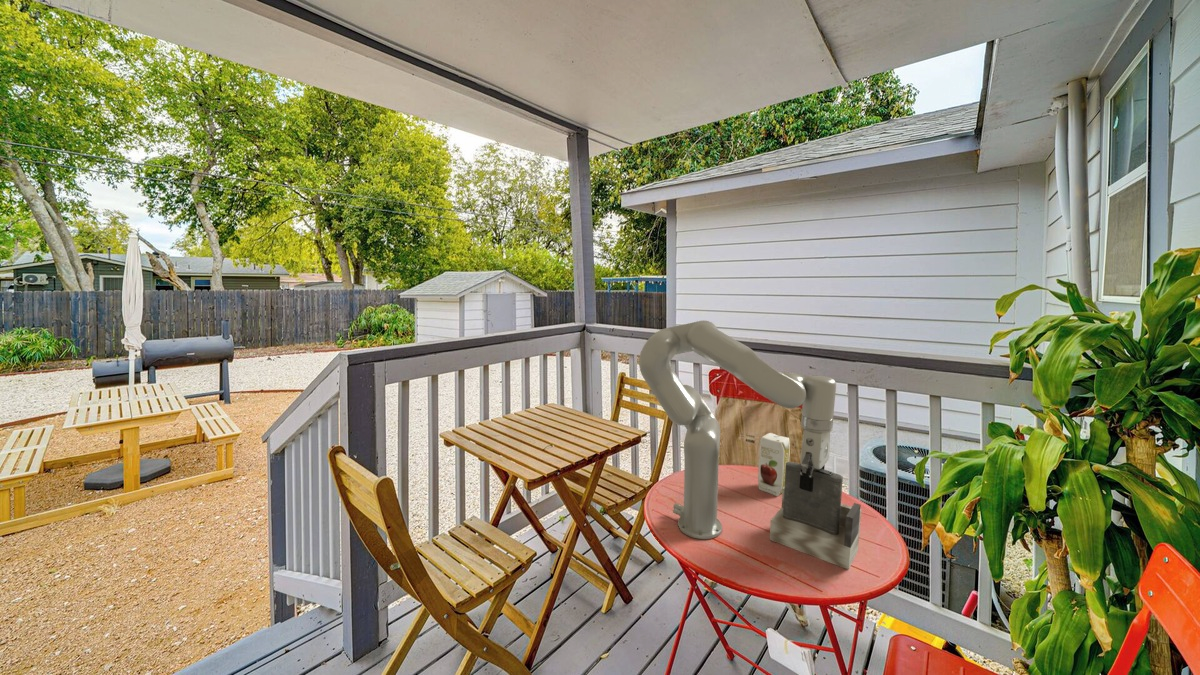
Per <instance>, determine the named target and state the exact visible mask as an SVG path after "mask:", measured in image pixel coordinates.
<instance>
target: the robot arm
mask: <svg viewBox="0 0 1200 675" xmlns="http://www.w3.org/2000/svg"><path fill="white" fill-rule="evenodd" d="M689 352H694V354H695V353H696V354H697V355H699V356H701V357H702V358H703V359H705V360H708V361H709V362H711V363H712V364H715V365H716V366H718V367H720V368H721V369H723V370H725V371H727V372H728V373H730V374H731V375H733V376H734V377H735V378H737V379H738V380H739V381H740V382H742V383H744V384H745V385H747V386H748V387H749V388H751V389H752V390H753V391H754V392H756V393H758V394H759V395H761V396H763V397H764V398H765V399H767V400H769V401H771V402H772V403H775V404H776V405H778V406H780V407H783V408H786V409H796V408H799V407H800V406H802V407H801V421H800V422H801V424H800V427H801V429H803V433H802V441H801V448H800V449H801V452H800V464H801V468H802V469H801V473H800V486H799V488H800V489H803V490H806V491H809V492H812V491H813V482H814V477H813V473H814V469H815V468H816V469H817V470H819V469H821V468H822V469H825V465H826V464H827V463H828V461H829V460H830V447H831V432H832V431H833V425H834V424H833V423H834V416H835V402H836V391H837V390H836V389H837V382H836V381H835V379H834V378H832V377H829V376H826V375H825V376H824V375H806V374H802V373H796V372H793V371H791V372H790V371H783V372H780V371H779V370H777V369H775V368H774V367H772V366H771V365H769V364H768V363H767V362H765V361H764V360H763V359H762V358H760V355H758V354H757V353H756V352H755V351H754V350H753V349H752V348H750V347H749V346H747V345H746V344H744V343H742V342H740V341H738V340H736V339H735V338H733V337H731V336H730V335H727V334H726V333H724V332H723V331H720V330H719V329H718V327H717V325H715V324H714V323H713V322H712V321H709V320H697V321H694V322H693V321H692V322H689V323H683V324H680V325H675V326H670V327H665V328H662V329H659V330H658V331H656V332H655V333H653V335H651V336H650V337H649V338H648V339H647V341H646V342H645V343H644V345H643V347H642V349H641V351H640V354H639V359H638V367H639V372H640V374H641V376H642V377H643V379H644V381H645V383H646V384H647V385H648V388H649V389H650V390H651V392H652V394H653V395H654V397H655V398H656V400H657V401H658V403H659V404H660V406H661V408H662V409H663V411H664V412H665V414H666V415H667V418H668V419H669V420H670V421H671V422H672V423H674V424H675V425H678V426H684V427H685V429H686V433H685V436H684V441H683V442H684V443H683V456H684V460H683V462H684V470H683V472H684V477H683V478H684V480H683V481H684V482H683V484H684V485H683V488H684V489H683V505H682V504H680V503H677V502H675V503H674V504H673V507H672V508H673V509H672V513H673V514H675V515H678V516H679V517H678V520H677V525H678V526H679V527H678V529H679V528H680V529H679V530H680V532H682V533H683V534H684V535H686V536H687V537H691V538H694V539H698V540H709V539H710V540H711V539H714V538H716V537H718V536H719V535H721V533H722V532H723V524H722V522H721V521H720V520H719V519H718V498H719V497H718V496H719V495H718V494H719V493H718V491H719V489H718V488H719V463H720V461H719V458H720V457H719V455H720V442H721V426H720V423H719V421H718V419H717V418H716V416H715V415H714V413H713V411H712V410H711V409H710V407H709V406H708V403H706V401H705V400H704V398H703V397H702V395H701V393H700V392H699V391H698V390H697V389H695V388H694V387H693V386H692V385H688V384H684V383H683V382H682V381H681V380H680V377H679V376H678V375H677V373H676V372H675V371H674V370H673V369H672V366H671V365H670V362H671V360H672V359H673V358H674V357H675V355H680V354H685V353H689ZM809 463H810V464H813V465H809ZM808 468H811V471H809V469H808Z"/></svg>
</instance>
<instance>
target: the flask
mask: <svg viewBox="0 0 1200 675" xmlns="http://www.w3.org/2000/svg"><path fill="white" fill-rule="evenodd" d="M809 465H813V464H810V463H809ZM801 469H802V468H801V463H799V462H793V461H789V462H787V463H786V469H785V487H784V505H783V517H784V518H785V519H788V520H792V521H796V522H800V523H803V524H806V525H809V526H812V527H815V528H817V529H820V530H822V531H825V532H827V533H829V534H832V535H838V534H839V521H840V508H841V504H842V494H843V493H842V492H843V481H844V480H843V479H844V477H843V476H842V475H841V474H838V473H835V472H833V471H830V470H827V469H825V468H824V469H822V468H821V469H819V470H817V469H816V468H815V469H814V473H813V477H814V482H813V491H812V492H809V491H806V490H803V489H800V488H799V486H800V473H801ZM808 469H809V471H811V468H808Z"/></svg>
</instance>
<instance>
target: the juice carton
mask: <svg viewBox="0 0 1200 675" xmlns="http://www.w3.org/2000/svg"><path fill="white" fill-rule="evenodd" d="M790 444H791V443H790V437H786V436H782V435H781V436H780V435H777V434H775V433H773V432H768V433H766V434H765V435H763V436H761V438H760V440H759V451H758V452H759V454H758V476H757V482H758V490H759V491H762V492H764V493H767V494H769V495H772V496H775V497H779V496H780V495H782V492H783V488H784V487H785V469H786V463H787V462H790V454H791V453H790V452H791V451H790V450H791V445H790Z"/></svg>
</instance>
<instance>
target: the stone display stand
mask: <svg viewBox="0 0 1200 675" xmlns="http://www.w3.org/2000/svg"><path fill="white" fill-rule="evenodd" d="M783 505H784V488H783V492H782V494H781V507H780V509H779V510H778V511H777V512H776V513H775V514H774V515H773V517H772V518H771V519H770V523H769V524H770V527H769V530H770V531H769V540H770V541H772V542H774V543H778V544H780V545H783V546H785V547H787V548H790V549H793V550H794V551H795V550H796V551H798V552H801V553H804V554H807V555H808V556H811V557H814V558H815V559H816V558H817V559H820V560H821V561H825V562H827V563H829V564H833V565H835V566H838V567H841V568H844V569H845V570H850V567H851V566H852V564H853V562H854V560H855V557H856V556H857V554H858V552H859V541H860V532H861V531H860V529H861V521H862V520H861V519H862V518H861V517H862V516H861V515H862V508H861V506H862V505H861V504H859V503H856V502H854V503H853V504H852V506H851V505H847V504H844V503H841V508H840V521H839V534H838V535H832V534H829V533H827V532H825V531H822V530H820V529H817V528H815V527H812V526H809V525H806V524H803V523H800V522H796V521H792V520H788V519H785V518H784V517H783Z"/></svg>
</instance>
